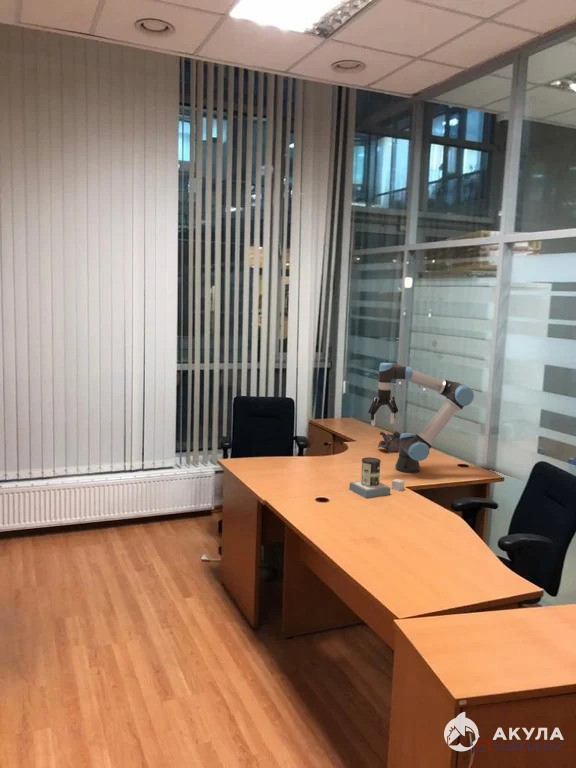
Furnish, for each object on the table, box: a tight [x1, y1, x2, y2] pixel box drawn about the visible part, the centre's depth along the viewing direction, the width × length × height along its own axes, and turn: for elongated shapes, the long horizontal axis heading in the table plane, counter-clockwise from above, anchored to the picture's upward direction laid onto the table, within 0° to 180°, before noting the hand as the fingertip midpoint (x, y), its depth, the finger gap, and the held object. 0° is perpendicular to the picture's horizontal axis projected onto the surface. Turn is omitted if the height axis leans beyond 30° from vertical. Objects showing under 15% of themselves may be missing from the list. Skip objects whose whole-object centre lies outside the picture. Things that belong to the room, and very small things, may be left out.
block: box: [391, 478, 405, 492], centre depth 351 cm, size 5×5×5 cm
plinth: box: [348, 480, 391, 499], centre depth 345 cm, size 16×16×4 cm
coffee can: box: [360, 456, 382, 487], centre depth 343 cm, size 10×10×14 cm
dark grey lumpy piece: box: [377, 431, 402, 453], centre depth 433 cm, size 14×15×20 cm
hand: (382, 424), depth 370 cm, fingers open, 13 cm apart
